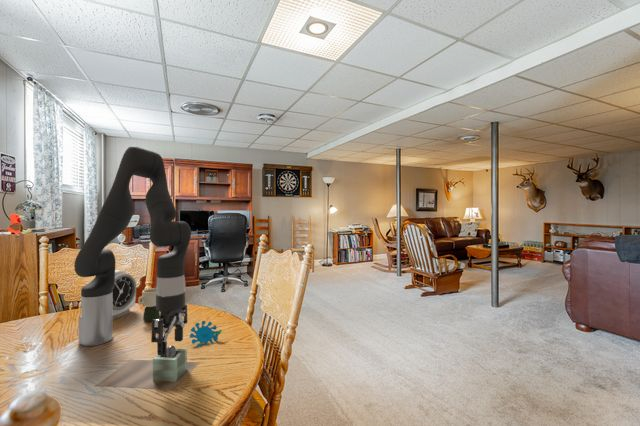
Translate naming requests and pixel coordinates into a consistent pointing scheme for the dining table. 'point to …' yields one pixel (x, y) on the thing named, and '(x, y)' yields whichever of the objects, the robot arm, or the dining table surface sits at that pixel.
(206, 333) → the gear
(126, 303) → the alarm clock
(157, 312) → the character mug
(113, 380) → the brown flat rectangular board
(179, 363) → the pale green open box
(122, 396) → the dining table surface
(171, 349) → the metal post
